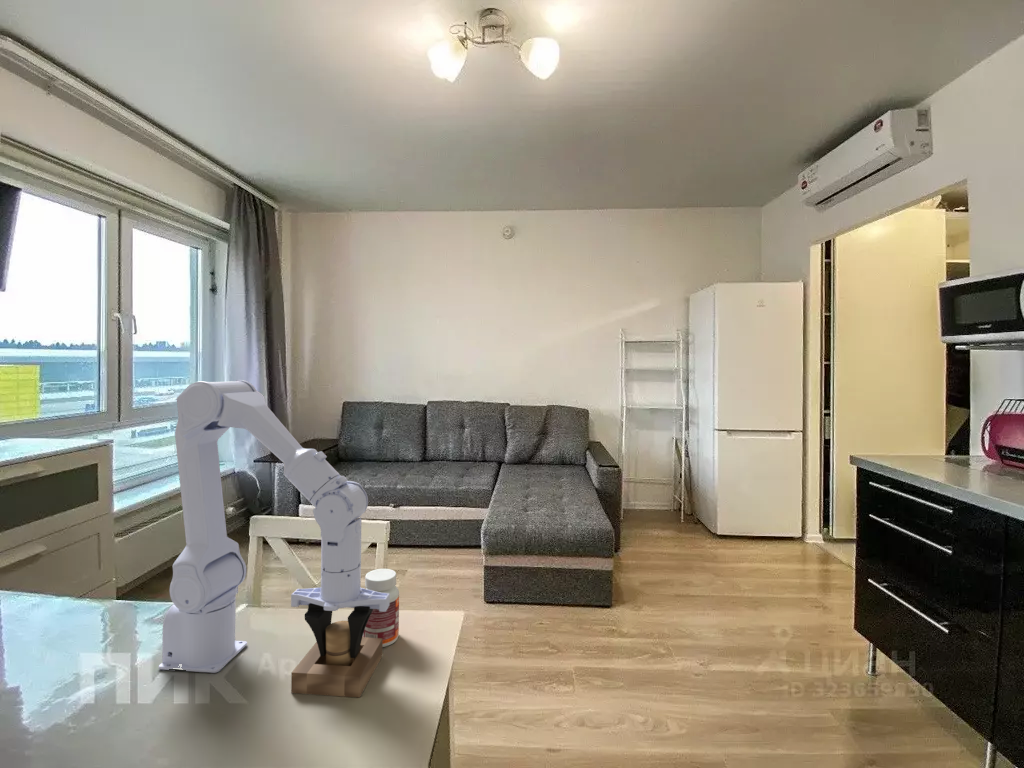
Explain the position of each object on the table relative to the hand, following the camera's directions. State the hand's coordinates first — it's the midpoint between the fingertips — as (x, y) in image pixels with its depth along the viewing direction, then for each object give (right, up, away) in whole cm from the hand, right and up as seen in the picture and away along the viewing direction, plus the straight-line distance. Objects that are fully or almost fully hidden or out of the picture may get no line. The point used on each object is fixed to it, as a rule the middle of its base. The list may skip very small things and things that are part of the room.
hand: (339, 653), depth 76 cm
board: (0, -3, 0) cm, 3 cm away
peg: (0, -3, 0) cm, 3 cm away
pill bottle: (+3, -3, +10) cm, 11 cm away
